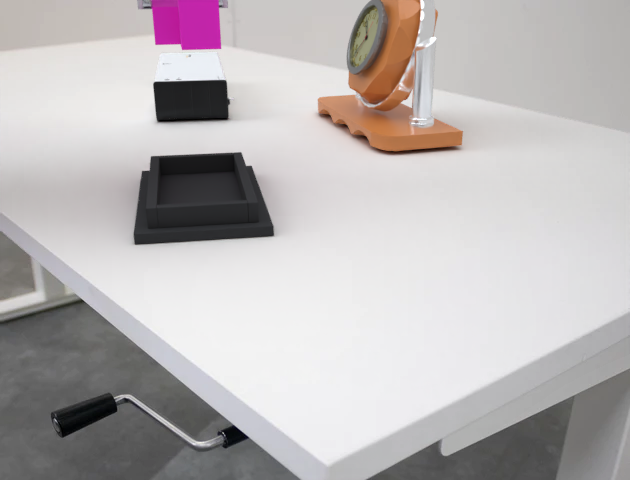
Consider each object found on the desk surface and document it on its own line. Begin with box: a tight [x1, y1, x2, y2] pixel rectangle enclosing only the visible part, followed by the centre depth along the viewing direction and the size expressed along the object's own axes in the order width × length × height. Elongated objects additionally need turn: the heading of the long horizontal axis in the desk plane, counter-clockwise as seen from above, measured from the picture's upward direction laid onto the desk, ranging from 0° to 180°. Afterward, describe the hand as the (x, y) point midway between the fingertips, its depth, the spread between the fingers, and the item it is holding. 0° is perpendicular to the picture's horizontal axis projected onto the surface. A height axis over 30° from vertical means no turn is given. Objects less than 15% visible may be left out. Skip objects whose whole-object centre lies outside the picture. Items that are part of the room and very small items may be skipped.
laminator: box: [152, 51, 235, 122], centre depth 132 cm, size 34×12×6 cm, turn 9°
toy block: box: [151, 0, 222, 51], centre depth 77 cm, size 15×6×8 cm, turn 11°
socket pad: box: [133, 151, 275, 245], centre depth 80 cm, size 13×22×3 cm, turn 10°
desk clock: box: [317, 0, 464, 153], centre depth 109 cm, size 12×30×20 cm, turn 18°
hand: (183, 8), depth 78 cm, fingers closed on toy block, 6 cm apart
